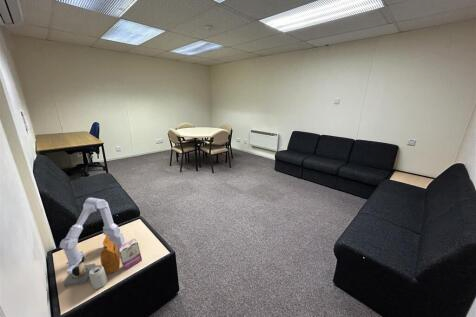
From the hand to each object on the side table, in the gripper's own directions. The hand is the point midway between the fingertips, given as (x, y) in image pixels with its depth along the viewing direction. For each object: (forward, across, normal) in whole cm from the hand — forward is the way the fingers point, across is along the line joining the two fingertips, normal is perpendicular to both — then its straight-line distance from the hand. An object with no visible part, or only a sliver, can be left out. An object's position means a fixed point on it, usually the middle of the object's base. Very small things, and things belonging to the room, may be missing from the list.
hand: (79, 271), depth 125 cm
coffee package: (+4, -4, +17) cm, 18 cm away
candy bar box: (+4, -4, +29) cm, 29 cm away
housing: (+4, 0, 0) cm, 4 cm away
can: (+4, +8, +14) cm, 17 cm away
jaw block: (+2, 0, 0) cm, 2 cm away
